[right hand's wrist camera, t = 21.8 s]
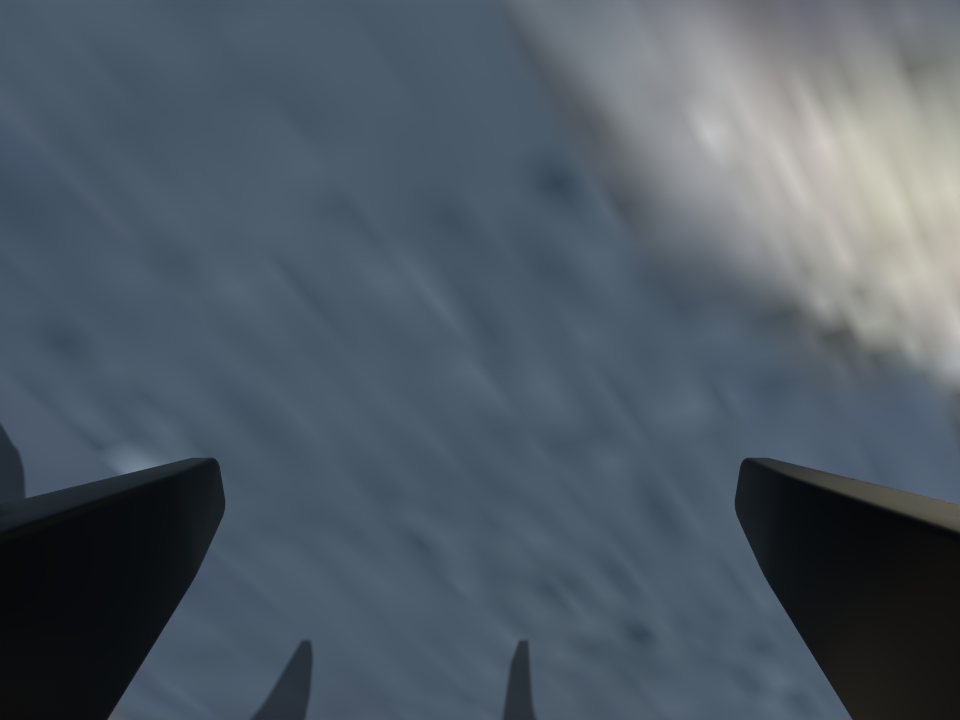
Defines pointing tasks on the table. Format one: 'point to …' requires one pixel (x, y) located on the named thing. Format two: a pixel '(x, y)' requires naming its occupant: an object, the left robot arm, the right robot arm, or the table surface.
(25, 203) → the table surface
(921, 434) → the table surface
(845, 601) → the right robot arm
